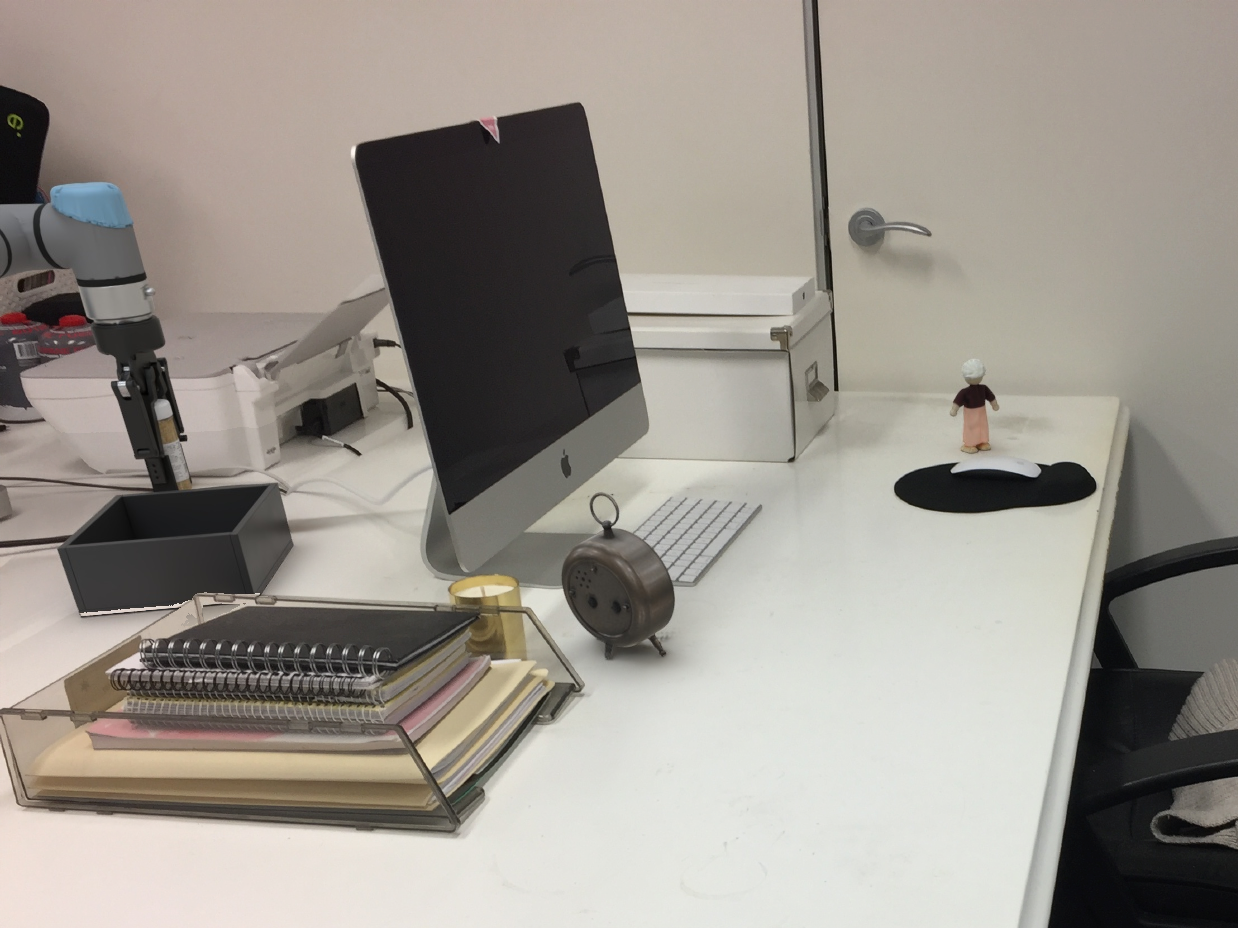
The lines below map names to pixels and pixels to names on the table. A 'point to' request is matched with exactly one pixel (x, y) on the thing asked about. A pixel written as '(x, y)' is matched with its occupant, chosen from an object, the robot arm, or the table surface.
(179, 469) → the sprinkles bottle
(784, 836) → the table surface
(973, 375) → the grandmother figurine
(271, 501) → the basket
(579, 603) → the alarm clock
